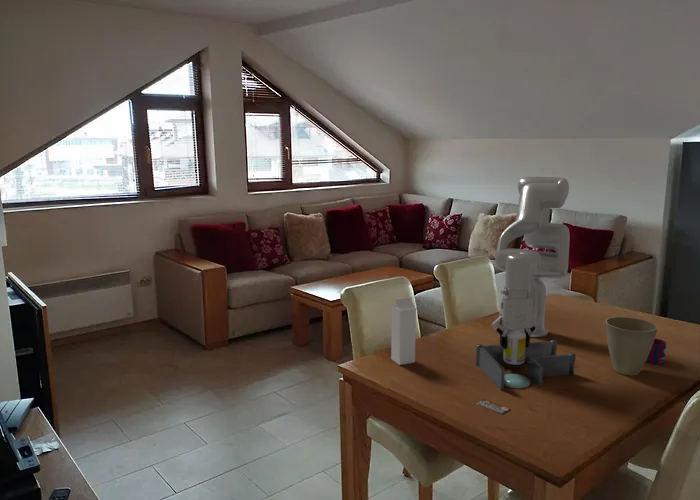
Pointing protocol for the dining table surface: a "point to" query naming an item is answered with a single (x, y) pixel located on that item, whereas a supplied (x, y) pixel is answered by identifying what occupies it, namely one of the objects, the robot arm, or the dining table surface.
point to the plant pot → (629, 343)
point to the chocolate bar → (493, 407)
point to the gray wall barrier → (536, 355)
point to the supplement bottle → (515, 347)
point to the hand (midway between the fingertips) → (514, 346)
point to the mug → (657, 352)
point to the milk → (403, 331)
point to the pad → (516, 381)
